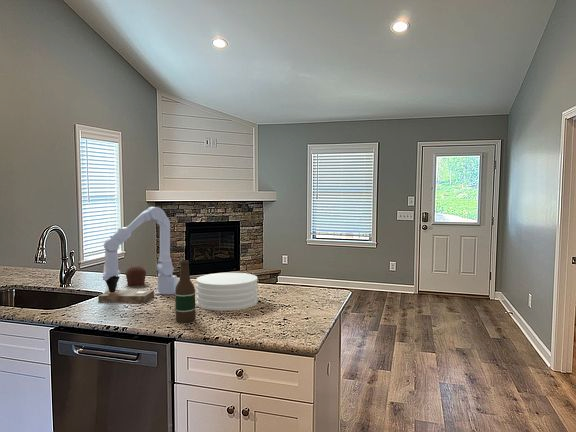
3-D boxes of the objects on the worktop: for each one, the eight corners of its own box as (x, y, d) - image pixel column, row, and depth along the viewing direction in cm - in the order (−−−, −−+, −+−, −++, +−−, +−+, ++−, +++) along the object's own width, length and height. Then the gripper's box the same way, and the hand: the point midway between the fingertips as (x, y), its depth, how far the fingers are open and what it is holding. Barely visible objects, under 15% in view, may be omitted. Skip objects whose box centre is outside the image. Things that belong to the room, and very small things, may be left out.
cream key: (146, 297, 211) (146, 291, 210) (143, 299, 207) (143, 293, 206) (138, 297, 211) (138, 291, 211) (135, 299, 207) (135, 293, 207)
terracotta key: (118, 297, 211) (118, 291, 211) (114, 299, 207) (114, 293, 207) (110, 297, 212) (110, 291, 211) (106, 299, 208) (106, 292, 207)
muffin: (121, 284, 243) (121, 266, 243) (141, 281, 251) (140, 264, 250) (130, 287, 234) (130, 269, 234) (150, 284, 242) (149, 266, 241)
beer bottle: (177, 317, 178) (176, 259, 176) (196, 317, 178) (195, 258, 177) (173, 323, 170) (172, 262, 169) (194, 323, 171) (193, 261, 169)
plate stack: (219, 293, 221) (219, 270, 221) (268, 299, 209) (268, 275, 208) (183, 306, 196) (183, 281, 196) (236, 314, 184) (236, 287, 183)
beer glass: (113, 294, 220) (112, 264, 219) (101, 293, 221) (100, 264, 220) (121, 291, 226) (120, 262, 226) (109, 290, 228) (108, 261, 227)
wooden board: (154, 296, 214) (153, 290, 214) (144, 302, 203) (144, 296, 202) (110, 296, 216) (110, 290, 215) (98, 302, 204) (98, 295, 204)
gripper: (110, 261, 216) (111, 288, 217) (96, 266, 201) (96, 295, 202) (124, 261, 216) (125, 288, 216) (110, 266, 201) (111, 295, 202)
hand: (112, 292), depth 209 cm, fingers closed, pressing on terracotta key
